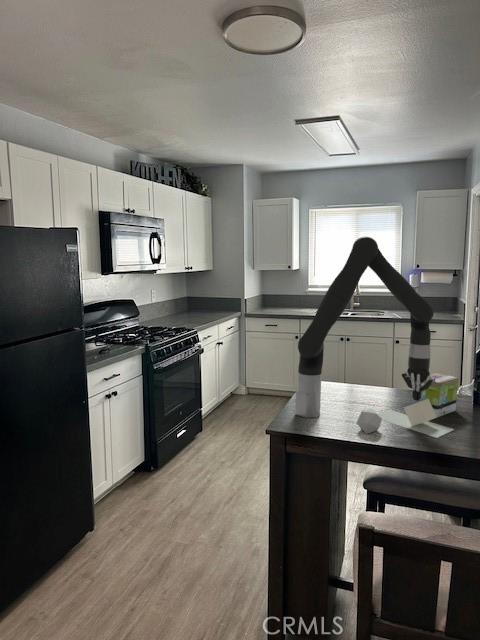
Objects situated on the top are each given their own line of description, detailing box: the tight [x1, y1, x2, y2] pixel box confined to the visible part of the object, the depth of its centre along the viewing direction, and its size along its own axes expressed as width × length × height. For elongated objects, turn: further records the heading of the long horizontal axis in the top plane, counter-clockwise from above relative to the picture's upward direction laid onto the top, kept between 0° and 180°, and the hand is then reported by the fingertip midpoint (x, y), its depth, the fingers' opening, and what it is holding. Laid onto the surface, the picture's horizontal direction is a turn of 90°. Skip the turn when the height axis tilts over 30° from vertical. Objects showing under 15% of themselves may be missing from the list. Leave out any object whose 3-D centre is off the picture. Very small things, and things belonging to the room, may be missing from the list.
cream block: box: [402, 397, 438, 426], centre depth 176 cm, size 7×7×8 cm
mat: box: [376, 409, 456, 439], centre depth 179 cm, size 13×28×1 cm, turn 39°
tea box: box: [420, 372, 459, 418], centre depth 192 cm, size 15×10×15 cm
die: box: [356, 408, 383, 435], centre depth 170 cm, size 8×9×10 cm
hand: (416, 399), depth 177 cm, fingers closed
